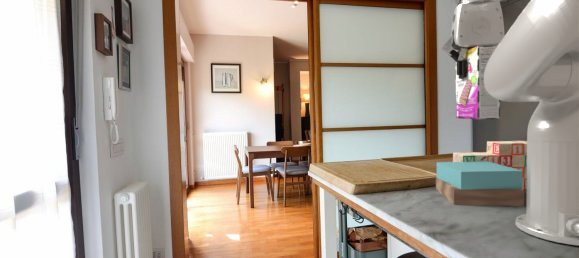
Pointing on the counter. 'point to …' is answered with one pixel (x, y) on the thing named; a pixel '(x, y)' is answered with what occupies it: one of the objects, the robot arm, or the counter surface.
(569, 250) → the counter surface
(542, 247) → the counter surface
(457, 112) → the candy bar box
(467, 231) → the counter surface
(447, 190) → the walnut base slab
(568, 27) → the robot arm
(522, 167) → the stack of blocks
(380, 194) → the counter surface
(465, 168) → the teal top slab
